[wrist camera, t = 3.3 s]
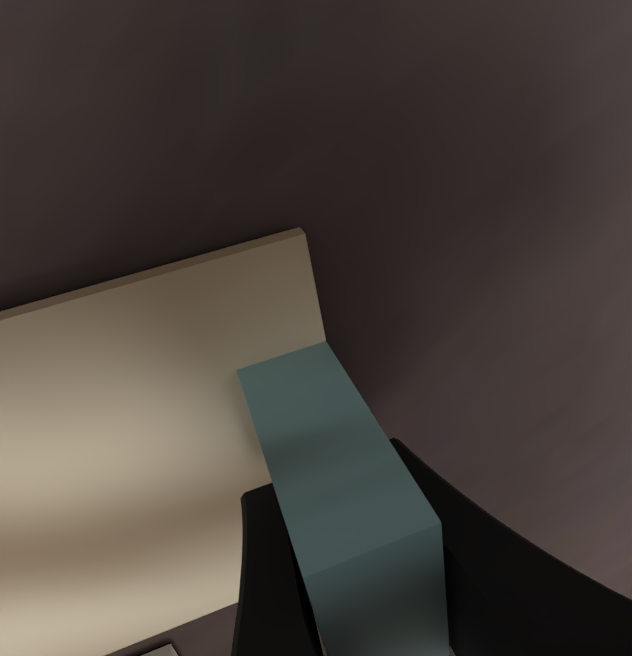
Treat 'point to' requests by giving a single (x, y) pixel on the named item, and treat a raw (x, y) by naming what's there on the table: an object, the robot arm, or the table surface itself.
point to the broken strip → (163, 651)
